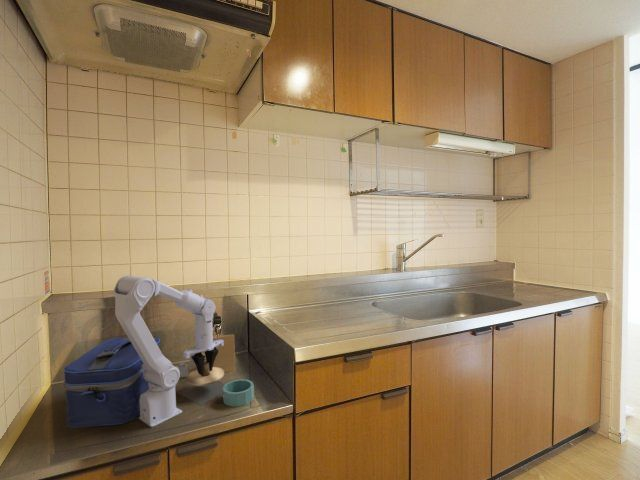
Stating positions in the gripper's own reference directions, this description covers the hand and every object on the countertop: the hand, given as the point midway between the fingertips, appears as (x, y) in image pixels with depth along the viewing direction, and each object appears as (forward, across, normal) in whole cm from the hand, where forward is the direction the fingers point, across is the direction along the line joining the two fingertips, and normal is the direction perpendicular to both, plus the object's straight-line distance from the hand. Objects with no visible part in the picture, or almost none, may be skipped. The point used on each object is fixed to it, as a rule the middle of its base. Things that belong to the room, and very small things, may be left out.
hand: (205, 372), depth 116 cm
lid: (+2, 0, 0) cm, 2 cm away
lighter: (+7, +3, +16) cm, 18 cm away
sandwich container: (+7, +16, +13) cm, 22 cm away
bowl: (+7, +3, -14) cm, 15 cm away
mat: (+7, 0, 0) cm, 7 cm away
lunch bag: (+7, -21, +17) cm, 28 cm away
